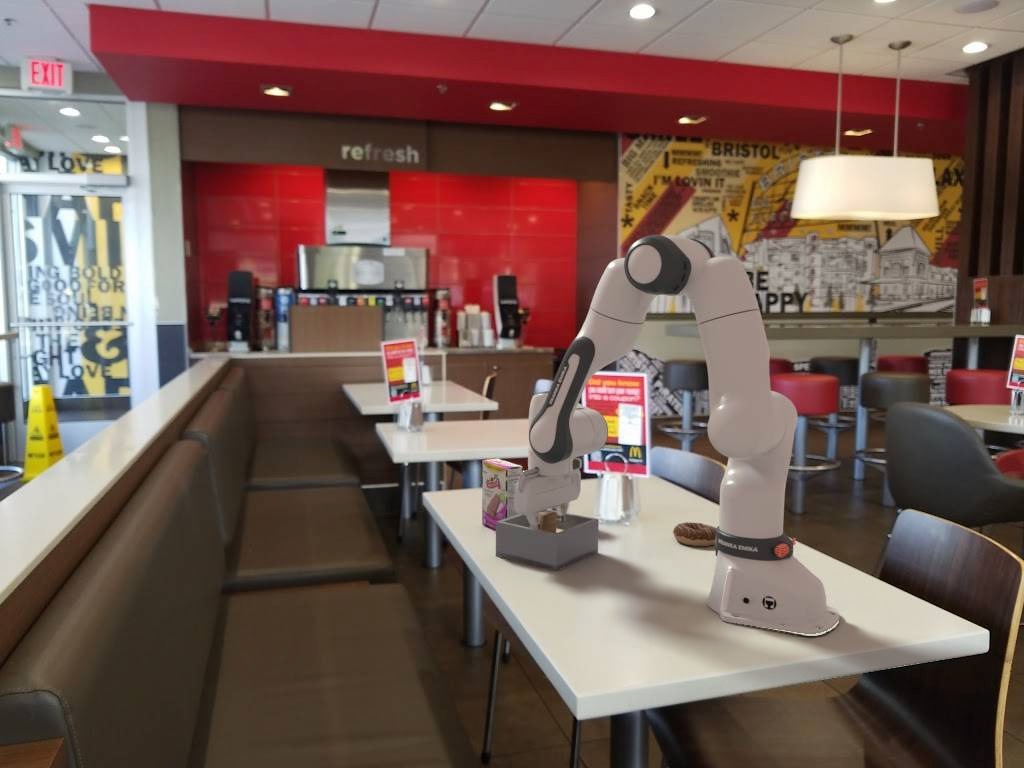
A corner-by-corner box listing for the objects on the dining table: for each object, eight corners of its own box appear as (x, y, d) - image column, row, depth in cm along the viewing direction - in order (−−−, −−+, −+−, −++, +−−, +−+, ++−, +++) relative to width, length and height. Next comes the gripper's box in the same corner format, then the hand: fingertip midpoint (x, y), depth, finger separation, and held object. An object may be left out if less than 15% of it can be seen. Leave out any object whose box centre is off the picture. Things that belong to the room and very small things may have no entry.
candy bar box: (480, 525, 197) (481, 459, 195) (497, 522, 200) (498, 457, 198) (506, 536, 188) (506, 467, 186) (523, 533, 191) (524, 465, 189)
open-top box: (597, 552, 176) (598, 519, 175) (556, 571, 163) (556, 535, 163) (539, 539, 186) (539, 507, 185) (495, 555, 173) (495, 521, 172)
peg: (559, 549, 175) (560, 513, 174) (549, 553, 172) (549, 517, 171) (544, 545, 177) (545, 510, 176) (534, 550, 174) (534, 514, 173)
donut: (671, 546, 181) (671, 529, 181) (674, 533, 192) (674, 517, 191) (719, 550, 179) (720, 533, 178) (720, 537, 189) (720, 521, 188)
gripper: (531, 473, 162) (530, 540, 164) (586, 459, 178) (585, 519, 180) (507, 469, 166) (506, 534, 168) (562, 456, 182) (562, 515, 184)
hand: (547, 526), depth 174 cm, fingers open, 8 cm apart
